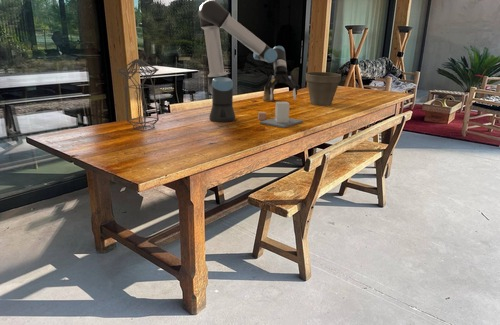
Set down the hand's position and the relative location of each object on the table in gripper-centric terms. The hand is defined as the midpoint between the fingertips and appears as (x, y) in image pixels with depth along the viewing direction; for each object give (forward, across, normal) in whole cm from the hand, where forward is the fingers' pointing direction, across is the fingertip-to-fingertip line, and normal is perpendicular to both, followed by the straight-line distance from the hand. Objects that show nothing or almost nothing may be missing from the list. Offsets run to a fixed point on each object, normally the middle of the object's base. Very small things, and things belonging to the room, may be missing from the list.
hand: (283, 99), depth 223 cm
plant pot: (-30, -38, -48) cm, 69 cm away
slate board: (+13, +1, -5) cm, 14 cm away
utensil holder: (-41, -4, -60) cm, 73 cm away
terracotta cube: (+6, +11, -12) cm, 18 cm away
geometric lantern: (+22, +77, +3) cm, 80 cm away
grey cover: (+12, +1, -5) cm, 13 cm away
